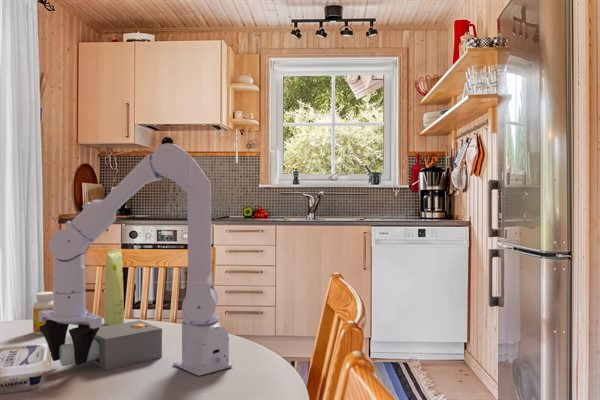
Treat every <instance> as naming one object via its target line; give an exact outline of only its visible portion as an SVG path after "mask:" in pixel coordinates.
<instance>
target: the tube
mask: <svg viewBox="0 0 600 400" xmlns="http://www.w3.org/2000/svg"><path fill="white" fill-rule="evenodd" d="M105 258H106V259H105V272H104V273H105V276H104V277H105V279H104V301H103V302H104V305H103V310H104V312H103V314H104V315H103V323H104V326H109V325H115V324H121V323H125V313H124V311H125V310H124V309H125V306H124V305H125V304H124V303H125V302H124V297H125V296H124V295H125V294H124V272H123V271H124V270H123V269H124V268H123V254H122V248H118V249H114V250H109V251H107V252H106V257H105Z"/></svg>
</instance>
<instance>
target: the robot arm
mask: <svg viewBox="0 0 600 400" xmlns="http://www.w3.org/2000/svg"><path fill="white" fill-rule="evenodd" d="M163 177H165V178H166V179H168V180H171V181H173V182H175V184H176V185H178V186H179V187H180V189H182V190H184V191H185V193H186V196H187V197H186V200H187V201H186V202H187V205H186V207H187V212H186V213H187V282H186V295H185V297H184V298H183V301H182V304H181V310H182V314H183V316H184V317H182V318H181V359H180V360H179V359H178V360H175V361H173V363H172V364H173V366H175V367H178V368H180V369H182V370H185V371H186V372H189V373H190V374H194V375H196V376H203V375H208V374H210V373H214V372H217V371H222V370H225V369H229V368H232V367H233V363H230V362H229V361H230V355H229V354H230V353H229V352H230V351H229V350H230V345H229V344H230V342H229V341H230V338H229V333H228V330H227V329H226V328H224V327H223V326H222V325H221V323H220V317H219V315H218V314H217V313H216V308H217V307H216V306H217V303H218V293H217V291H216V289H215V288H214V284H213V282H214V281H213V270H212V269H213V266H212V261H213V260H212V259H213V258H212V254H213V253H212V252H213V251H212V186H211V185H212V184H211V181H210V180H209V178H208V177H207V175H206V174H205V172H204V170H202V168H201V167H200V166H199V164H198V163H197V160H196V159H194V157H193V156H192V155H190V154H189V153H188V152H187V151H185V150H184V149H183V148H181V147H179V146H178V145H176V144H175V143H170V142H168V143H167V142H166V143H163V144H160V145H158V146H157V147H155V149H154V150H153V152H152V153H149V154H147V155H146V156H144V157H143V159H142V160H140V161H139V163H137V164H136V165H135V166H134V168H132V169H131V171H129V172H128V174H127V175H126V176H124V178H123V179H122V180H121V181H120V182H119V183H118V184H117V185H116V186H115V187H114V188H113V189H112V190H111V191H110V192H109V193H108V194H107V196H105V197H104V198H103V199H93V200H91V202H89V201H86V202H85V203H83V205H82V206H81V207H82V208H83V209H82V210H81V211H80V212H79V213H78V214H77V215H76V216H75V217H74V218H73V219H72V220H67V221H66V222H65V223H64V226H65V228H62V229H59V230H56V231H54V233H53V234H52V236H51V237H50V239H49V242H48V251H49V253H50V254H51V256H52V258H53V259H52V261H53V266H52V267H53V268H52V292H53V310H44V311H39V312H38V321H40V322H43V321H46V323H45V325H41V326H40V329H39V330H40V331H41V332H42V334H43V335H42V336H43V338H45V341H46V343H47V346H48V349H49V353H50V352H51V353H50V356H51V360H52V362H57V361H60V359H59V348H60V346H61V345H64V344H66V338H67V332H68V333H69V335H70V336H71V340H72V343H73V345H74V357H75V363H76V364H75V366H81V365H83V364H86V363H87V362H88V361H87V358H88V354H89V350H90V347H91V344H92V342H93V339H94V337H95V335H96V334H97V332H98V330H99V327H103V324H102V323H103V322H102V321H103V319H102V315H96V314H94V313H90V312H89V309H86V263H85V262H86V255H85V254H86V253H87V252H88V251H89V248H90V245H91V244H93V243H94V242H95V241H96V240H97V239H98V238H99V237H100V236H102V234H103V233H105V231H106V230H108V229H109V228H110V226H112V224H114V223H115V222H116V220H117V211H118V210H119V209H120V208H121V207H122V206H123V205H124V204H126V202H128V201H129V199H131V198H132V197H133V196H134V195H136V193H137V192H139V191H140V190H141V189H142V188H144V186H145V185H147V184H149V183H153V182H157V181H158V182H159V181H162V180H163ZM71 325H72V326H77V327H74V328H70V329H69V326H71Z"/></svg>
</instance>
